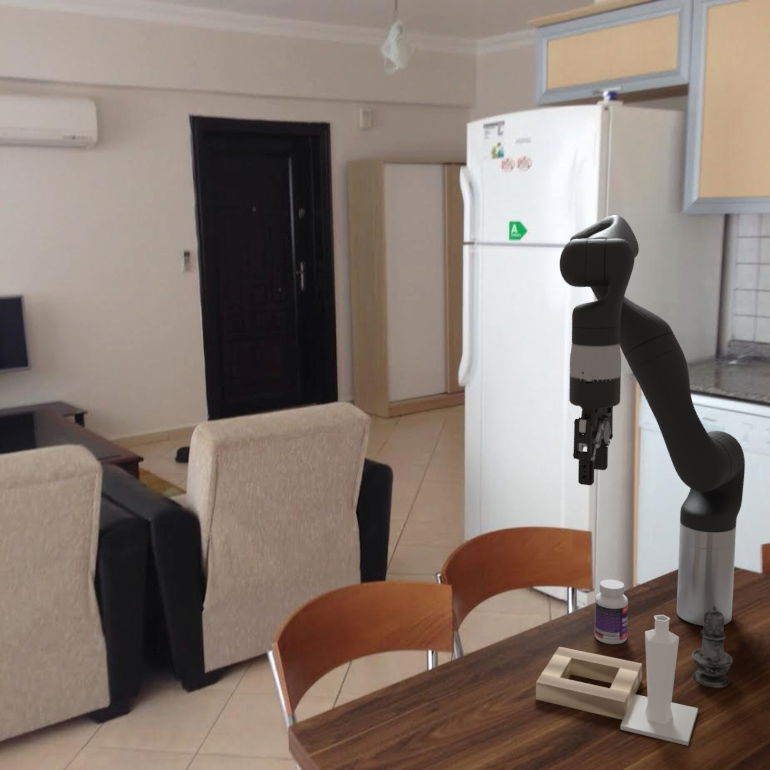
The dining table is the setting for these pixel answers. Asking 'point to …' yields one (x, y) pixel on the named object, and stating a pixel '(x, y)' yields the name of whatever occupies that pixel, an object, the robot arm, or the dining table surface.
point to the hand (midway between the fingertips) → (593, 476)
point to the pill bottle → (611, 613)
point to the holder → (588, 696)
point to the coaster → (673, 731)
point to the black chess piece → (712, 652)
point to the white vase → (660, 670)
